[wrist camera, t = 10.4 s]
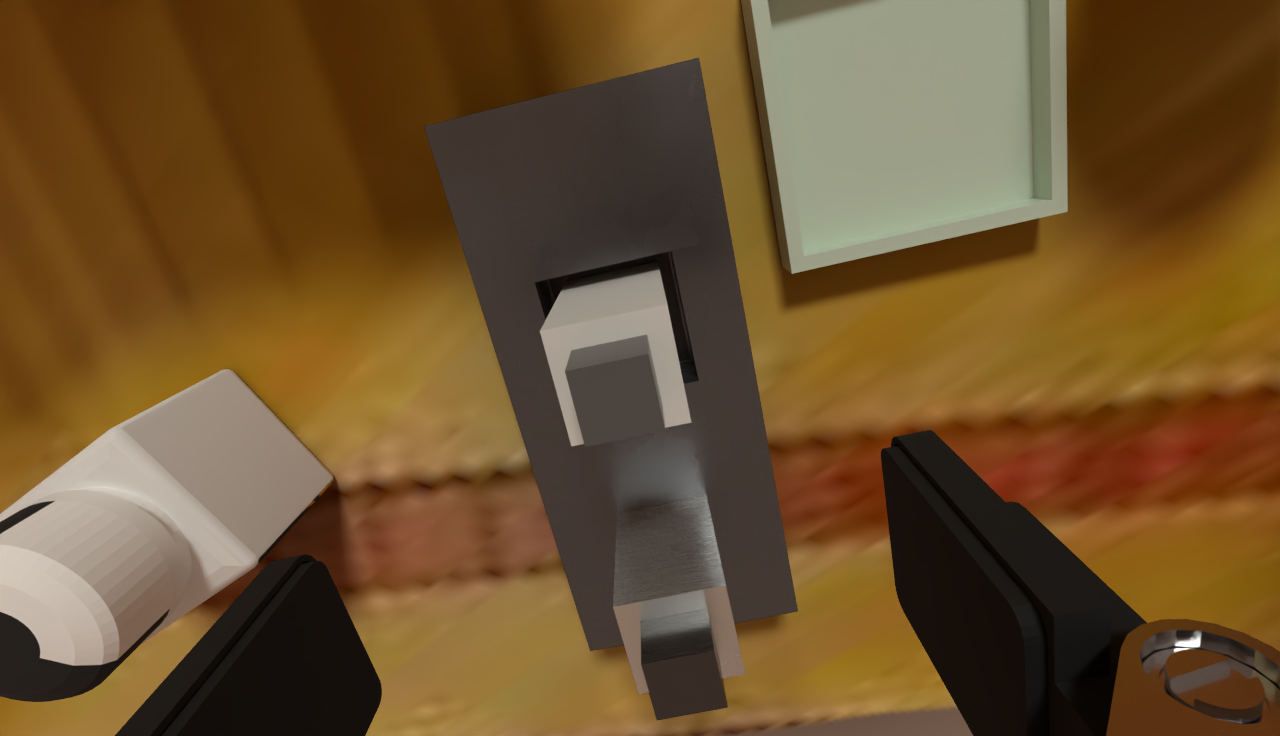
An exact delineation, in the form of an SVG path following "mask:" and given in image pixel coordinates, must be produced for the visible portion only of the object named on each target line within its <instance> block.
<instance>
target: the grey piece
mask: <svg viewBox="0 0 1280 736" xmlns="http://www.w3.org/2000/svg"><path fill="white" fill-rule="evenodd" d="M424 128H425V131H426V134H427V138H428V141H429V144H430V147H431V150H432V153H433V156H434V160H435V163H436V166H437V169H438V172H439V175H440V179H441V182H442V185H443V188H444V191H445V194H446V197H447V201H448V204H449V207H450V210H451V213H452V216H453V220H454V223H455V226H456V229H457V232H458V235H459V238H460V242H461V245H462V248H463V251H464V254H465V257H466V261H467V264H468V267H469V270H470V273H471V276H472V279H473V283H474V286H475V289H476V292H477V295H478V298H479V302H480V305H481V308H482V311H483V314H484V317H485V320H486V324H487V327H488V330H489V333H490V336H491V339H492V343H493V346H494V349H495V352H496V355H497V358H498V361H499V365H500V368H501V371H502V374H503V377H504V380H505V384H506V387H507V390H508V393H509V396H510V399H511V402H512V406H513V409H514V412H515V415H516V418H517V421H518V425H519V428H520V431H521V434H522V437H523V440H524V443H525V447H526V450H527V453H528V456H529V459H530V462H531V466H532V469H533V472H534V475H535V478H536V481H537V484H538V488H539V491H540V494H541V497H542V500H543V503H544V507H545V510H546V513H547V516H548V519H549V522H550V525H551V529H552V532H553V535H554V538H555V541H556V544H557V548H558V551H559V554H560V557H561V560H562V563H563V566H564V570H565V573H566V576H567V579H568V582H569V585H570V589H571V592H572V595H573V598H574V601H575V604H576V607H577V611H578V614H579V617H580V620H581V623H582V626H583V630H584V633H585V636H586V639H587V642H588V645H589V648H590V651H593V650H598V649H604V648H609V647H614V646H619V645H624V646H625V650H626V653H627V656H628V660H629V663H630V667H631V670H632V673H633V677H634V680H635V684H636V687H637V690H638V694H642V693H648V692H649V694H650V697H651V701H652V704H653V708H654V711H655V715H656V718H657V720H662V719H667V718H672V717H678V716H683V715H689V714H694V713H700V712H705V711H711V710H716V709H722V708H727V707H728V706H727V700H726V694H725V688H724V683H723V678H728V677H733V676H739V675H744V674H745V670H744V665H743V661H742V656H741V652H740V647H739V642H738V638H737V633H736V628H735V624H734V623H739V622H745V621H750V620H755V619H760V618H766V617H771V616H776V615H781V614H786V613H792V612H797V611H798V609H797V604H796V598H795V593H794V587H793V581H792V576H791V570H790V565H789V559H788V553H787V548H786V542H785V537H784V531H783V525H782V520H781V514H780V509H779V503H778V497H777V492H776V486H775V481H774V475H773V469H772V464H771V458H770V453H769V447H768V442H767V436H766V430H765V425H764V419H763V414H762V408H761V402H760V397H759V391H758V386H757V380H756V374H755V369H754V363H753V358H752V352H751V346H750V341H749V335H748V330H747V324H746V319H745V313H744V307H743V302H742V296H741V291H740V285H739V279H738V274H737V268H736V263H735V257H734V251H733V246H732V240H731V235H730V229H729V223H728V218H727V212H726V207H725V201H724V195H723V190H722V184H721V179H720V173H719V168H718V162H717V156H716V151H715V145H714V140H713V134H712V128H711V123H710V117H709V112H708V106H707V100H706V95H705V89H704V84H703V78H702V72H701V67H700V61H699V58H695V59H691V60H687V61H683V62H679V63H675V64H671V65H667V66H663V67H659V68H655V69H651V70H647V71H643V72H639V73H635V74H631V75H627V76H623V77H619V78H615V79H611V80H607V81H603V82H599V83H595V84H591V85H587V86H583V87H579V88H575V89H571V90H567V91H563V92H559V93H555V94H551V95H547V96H543V97H539V98H535V99H531V100H527V101H523V102H519V103H515V104H511V105H507V106H503V107H499V108H495V109H491V110H487V111H483V112H479V113H475V114H471V115H467V116H463V117H459V118H455V119H451V120H447V121H443V122H439V123H435V124H431V125H427V126H424ZM653 262H658V265H659V270H660V274H661V278H662V283H663V287H664V292H665V296H666V300H667V305H668V310H669V315H670V320H671V325H672V329H673V334H674V339H675V344H676V349H677V354H678V359H679V364H680V369H681V374H682V378H683V383H684V388H685V393H686V398H687V403H688V408H689V413H690V418H691V422H692V423H687V424H682V425H676V426H671V427H666V428H665V431H663V432H658V433H653V434H648V435H643V436H638V437H633V438H628V439H623V440H618V441H613V442H608V443H603V444H598V445H593V446H588V447H585V445H584V444H581V445H576V446H571V443H570V439H569V436H568V432H567V428H566V425H565V421H564V417H563V414H562V410H561V407H560V403H559V399H558V396H557V392H556V388H555V385H554V381H553V377H552V374H551V370H550V367H549V363H548V359H547V356H546V352H545V348H544V345H543V341H542V338H541V334H540V330H541V328H542V326H543V324H544V322H545V320H546V318H547V317H548V315H549V313H550V311H551V309H552V307H553V305H554V303H555V301H556V299H557V298H558V296H559V294H560V292H561V290H562V288H563V286H564V284H565V282H566V281H570V280H575V279H579V278H584V277H589V276H593V275H598V274H602V273H607V272H612V271H616V270H621V269H626V268H630V267H635V266H640V265H644V264H649V263H653Z"/></svg>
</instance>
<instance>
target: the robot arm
mask: <svg viewBox="0 0 1280 736" xmlns="http://www.w3.org/2000/svg"><path fill="white" fill-rule="evenodd" d="M881 461H882V470H883V479H884V488H885V497H886V506H887V515H888V524H889V533H890V541H891V550H892V559H893V568H894V577H895V586H896V591H897V595H898V599H899V602H900V604H901V607H902V609H903V611H904V613H905V615H906V617H907V619H908V620H909V622H910V624H911V626H912V627H913V629H914V631H915V633H916V634H917V636H918V638H919V640H920V642H921V643H922V645H923V647H924V649H925V650H926V652H927V654H928V656H929V658H930V659H931V661H932V663H933V665H934V666H935V668H936V670H937V672H938V674H939V675H940V677H941V679H942V681H943V682H944V684H945V686H946V688H947V690H948V691H949V693H950V695H951V697H952V698H953V700H954V702H955V704H956V706H957V707H958V709H959V711H960V713H961V714H962V716H963V718H964V720H965V721H966V723H967V725H968V727H969V729H970V730H971V732H972V734H973V736H1280V652H1279V651H1277V650H1276V649H1275V648H1273V647H1272V646H1269V645H1267V644H1265V643H1263V642H1261V641H1259V640H1257V639H1255V638H1253V637H1251V636H1249V635H1247V634H1245V633H1242V632H1239V631H1236V630H1233V629H1229V628H1226V627H1223V626H1220V625H1217V624H1213V623H1207V622H1200V621H1194V620H1188V619H1165V620H1158V621H1154V622H1150V623H1146V622H1145V621H1144V620H1143V619H1142V618H1141V617H1140V616H1139V615H1138V614H1137V613H1136V612H1135V611H1134V610H1133V609H1132V608H1131V607H1130V606H1128V605H1127V604H1126V603H1125V602H1124V601H1123V600H1122V599H1121V598H1120V597H1119V596H1118V595H1117V594H1116V593H1115V592H1114V591H1113V590H1112V589H1110V588H1109V587H1108V586H1107V585H1106V584H1105V583H1104V582H1103V581H1102V580H1101V579H1100V578H1099V577H1098V576H1097V575H1096V574H1095V573H1094V572H1092V571H1091V570H1090V569H1089V568H1088V567H1087V566H1086V565H1085V564H1084V563H1083V562H1082V561H1081V560H1080V559H1079V558H1078V557H1077V556H1076V555H1074V554H1073V553H1072V552H1071V551H1070V550H1069V549H1068V548H1067V547H1066V546H1065V545H1064V544H1063V543H1062V542H1061V541H1060V540H1059V539H1058V538H1056V537H1055V536H1054V535H1053V534H1052V533H1051V532H1050V531H1049V530H1048V529H1047V528H1046V527H1045V526H1044V525H1043V524H1042V523H1041V522H1040V521H1038V520H1037V519H1036V518H1035V517H1034V516H1033V515H1032V514H1031V513H1030V512H1029V511H1028V510H1027V509H1026V508H1024V507H1023V506H1022V505H1020V504H1019V503H1016V502H1005V501H1004V500H1003V499H1002V498H1001V497H1000V496H999V495H997V494H996V493H995V492H994V491H993V490H992V489H991V488H990V487H989V486H988V485H987V484H986V483H985V482H984V481H983V480H982V479H981V478H980V477H979V476H978V475H977V474H976V473H975V472H974V471H973V470H972V469H971V468H970V467H969V466H968V465H967V464H966V463H965V462H964V461H963V460H962V459H961V458H960V457H959V456H958V455H957V454H956V453H955V452H954V451H953V450H952V449H951V448H950V447H949V446H947V445H946V444H945V443H944V442H943V441H942V440H941V439H940V438H939V437H938V436H937V435H936V434H935V433H934V432H933V431H931V430H927V431H922V432H917V433H912V434H907V435H902V436H897V437H893V439H892V442H891V447H889V448H884V449H882V451H881ZM381 695H382V689H381V683H380V680H379V677H378V675H377V673H376V671H375V669H374V667H373V665H372V663H371V660H370V658H369V656H368V654H367V652H366V650H365V648H364V646H363V643H362V641H361V639H360V637H359V635H358V633H357V631H356V629H355V627H354V624H353V622H352V620H351V618H350V616H349V614H348V612H347V610H346V607H345V605H344V603H343V601H342V599H341V597H340V595H339V593H338V590H337V588H336V586H335V584H334V582H333V580H332V578H331V576H330V573H329V571H328V569H327V567H326V566H325V564H323V563H322V562H320V561H316V560H315V559H314V558H313V557H312V556H310V555H301V556H296V557H291V558H286V559H281V560H276V561H272V562H270V563H269V564H268V565H267V566H266V567H265V568H264V569H263V570H262V571H261V572H260V573H259V574H258V576H257V577H256V578H255V579H254V580H253V581H252V582H251V583H250V585H249V586H248V587H247V588H246V589H245V590H244V591H243V592H242V594H241V595H240V596H239V597H238V598H237V599H236V600H235V601H234V603H233V604H232V605H231V606H230V607H229V608H228V609H227V610H226V611H225V613H224V614H223V615H222V616H221V617H220V618H219V619H218V620H217V622H216V623H215V624H214V625H213V626H212V627H211V628H210V629H209V631H208V632H207V633H206V634H205V635H204V636H203V637H202V638H201V640H200V641H199V642H198V643H197V644H196V645H195V646H194V647H193V649H192V650H191V651H190V652H189V653H188V654H187V655H186V656H185V657H184V659H183V660H182V661H181V662H180V663H179V664H178V665H177V666H176V668H175V669H174V670H173V671H172V672H171V673H170V674H169V675H168V677H167V678H166V679H165V680H164V681H163V682H162V683H161V684H160V686H159V687H158V688H157V689H156V690H155V691H154V692H153V693H152V695H151V696H150V697H149V698H148V699H147V700H146V701H145V702H144V704H143V705H142V706H141V707H140V708H139V709H138V710H137V711H136V712H135V714H134V715H133V716H132V717H131V718H130V719H129V720H128V721H127V723H126V724H125V725H124V726H123V727H122V728H121V729H120V730H119V732H118V733H117V734H116V735H115V736H365V735H366V733H367V730H368V728H369V726H370V724H371V722H372V720H373V718H374V715H375V713H376V711H377V709H378V707H379V704H380V701H381Z"/></svg>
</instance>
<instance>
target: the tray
mask: <svg viewBox="0 0 1280 736" xmlns="http://www.w3.org/2000/svg"><path fill="white" fill-rule="evenodd" d="M741 5H742V11H743V17H744V24H745V30H746V37H747V43H748V50H749V56H750V63H751V69H752V75H753V82H754V88H755V95H756V101H757V108H758V114H759V121H760V127H761V133H762V140H763V146H764V153H765V159H766V166H767V172H768V179H769V185H770V191H771V198H772V204H773V211H774V217H775V224H776V230H777V237H778V243H779V250H780V256H781V262H782V267H784V268H785V269H786V270H787V271H789V272H790V273H791V274H793V273H798V272H802V271H807V270H811V269H816V268H820V267H824V266H829V265H833V264H838V263H842V262H847V261H851V260H855V259H860V258H864V257H869V256H873V255H878V254H882V253H887V252H891V251H895V250H900V249H904V248H909V247H913V246H918V245H922V244H927V243H931V242H935V241H940V240H944V239H949V238H953V237H958V236H962V235H966V234H971V233H975V232H980V231H984V230H989V229H993V228H998V227H1002V226H1006V225H1011V224H1015V223H1020V222H1024V221H1029V220H1033V219H1037V218H1042V217H1046V216H1051V215H1055V214H1060V213H1064V212H1068V197H1067V64H1066V0H741Z"/></svg>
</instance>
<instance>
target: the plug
mask: <svg viewBox="0 0 1280 736" xmlns="http://www.w3.org/2000/svg"><path fill="white" fill-rule="evenodd" d="M540 334H541V338H542V341H543V345H544V348H545V352H546V356H547V359H548V363H549V367H550V370H551V374H552V377H553V381H554V385H555V388H556V392H557V396H558V399H559V403H560V407H561V410H562V414H563V417H564V421H565V425H566V428H567V432H568V436H569V439H570V443H571V446H576V445H581V444H584V445H585V447H588V446H593V445H598V444H603V443H608V442H613V441H618V440H623V439H628V438H633V437H638V436H643V435H648V434H653V433H658V432H663V431H665V428H666V427H671V426H676V425H682V424H687V423H692V422H691V418H690V413H689V408H688V403H687V398H686V393H685V388H684V383H683V378H682V374H681V369H680V364H679V359H678V354H677V349H676V344H675V339H674V334H673V329H672V325H671V320H670V315H669V310H668V305H667V300H666V296H665V292H664V287H663V283H662V278H661V274H660V270H659V265H658V262H653V263H649V264H644V265H640V266H635V267H630V268H626V269H621V270H616V271H612V272H607V273H602V274H598V275H593V276H589V277H584V278H579V279H575V280H570V281H566V282H565V284H564V286H563V288H562V290H561V292H560V294H559V296H558V298H557V299H556V301H555V303H554V305H553V307H552V309H551V311H550V313H549V315H548V317H547V318H546V320H545V322H544V324H543V326H542V328H541V330H540Z"/></svg>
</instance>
